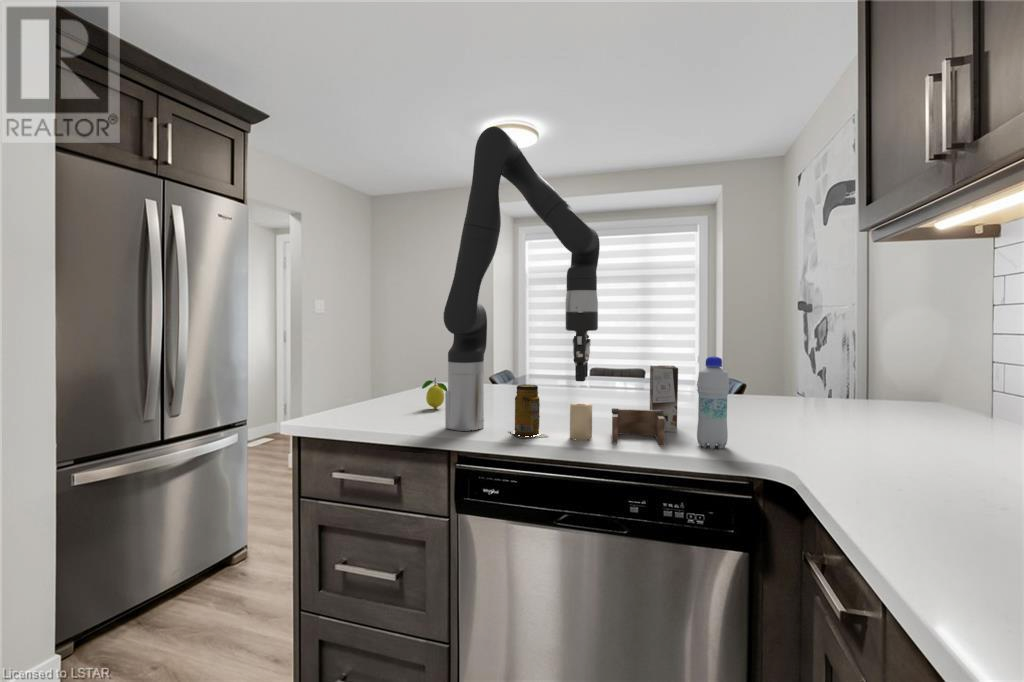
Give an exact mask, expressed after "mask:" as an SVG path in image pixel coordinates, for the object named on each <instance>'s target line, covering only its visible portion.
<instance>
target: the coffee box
mask: <svg viewBox="0 0 1024 682" xmlns="http://www.w3.org/2000/svg"><path fill="white" fill-rule="evenodd" d="M649 368H650V369H649V410H663V411H664V415H663V417H664V419H665V421H664V432H671V433H677V432H678V403H679V402H678V399H679V397H678V394H679V368H678V367H676V366H675V365H650V366H649Z"/></svg>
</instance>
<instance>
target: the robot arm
mask: <svg viewBox="0 0 1024 682" xmlns="http://www.w3.org/2000/svg"><path fill="white" fill-rule="evenodd" d="M472 171H473V172H472V179H471V180H472V181H471V186H470V192H469V196H468V202H467V209H466V212H465V218H464V220H463V221H464V222H463V226H462V231H461V237H460V238H461V239H460V244H459V249H458V254H457V257H456V258H457V259H456V264H455V270H454V274H453V275H454V276H453V280H452V283H451V286H450V290H449V293H448V296H447V300H446V303H445V306H444V310H443V317H442V318H443V323H444V326H445V328H446V329H447V331H448V332H449V333H451V334H453V340H452V341H453V343H452V345H451V347H450V349H449V350H448V352H447V391H445V393H444V399H445V400H444V402H445V408H444V409H445V419H444V420H445V423H444V424H445V425H444V426H445V429H447V430H451V431H462V432H466V431H467V432H469V431H471V430H472V431H478V429H479V430H482V429H484V425H485V423H484V422H485V417H484V416H485V414H484V413H485V407H484V406H485V405H484V404H485V403H484V402H485V398H484V396H485V392H484V391H485V390H484V389H485V388H484V386H485V369H484V368H485V366H484V365H485V364H484V363H485V362H484V360H485V358H484V357H485V353H486V349H487V342H488V341H487V339H488V316H487V311H486V309H485V307H484V306H483V305H482V303H480V302H479V295H480V289H481V285H482V282H483V279H484V278H485V277H484V276H485V275H486V272H487V271H488V269H489V267H490V265H491V263H492V261H493V259H494V257H495V254H496V252H497V247H498V244H499V238H500V233H501V227H502V225H501V224H502V218H501V217H502V216H501V209H500V208H501V206H500V196H499V195H500V194H499V193H500V183H501V177H503V178H504V179H505V180H507V181H508V182H510V183H511V184H512V185H513V186H514V187H515V188H516V189H517V190H518V191H519V192H520V194H521V195H522V196H523V198H524V199H525V201H526V202H527V204H528V205H529V206H530V208H531V209H532V210H533V212H534V213H535V214H536V215H537V216H538V217H539V218H540V220H542V222H544V224H545V225H546V226H547V227H548V228H550V230H552V232H553V234H554V235H555V237H556V238H557V239H558V241H559V242H560V243H561V244H562V245H563V247H565V249H567V251H568V252H570V253H571V258H570V259H571V261H570V267H568V268H567V270H566V271H567V272H566V295H565V330H566V331H569V332H572V331H573V332H575V335H574V336H573V338H572V350H573V351H572V354H573V358H572V359H573V363H574V365H575V366H574V367H575V369H574V370H575V377H574V378H575V381H576V382H585V380H586V378H587V377H588V375H589V374H588V368H589V367H588V366H589V364H588V362H589V359H590V358H589V357H590V354H591V343H592V342H591V338H590V335H589V334H588V332H589V331H597V330H598V329H599V326H598V325H599V318H598V317H599V309H598V308H599V301H598V291H597V289H598V287H597V285H598V284H597V283H598V275H597V269H598V264H599V257H600V246H601V245H600V237H599V234H598V233H597V231H596V230H595V229H593V228H592V227H590V226H589V225H588V224H587V223H586V222H584V221H583V220H582V218H580V216H578V215H577V214H576V212H574V210H573V208H572V206H571V205H570V204H569V203H568V202H567V200H566V199H565V198H564V197H562V196H561V194H560V193H559V192H558V191H557V190H556V189H555V188H554V187H553V186H551V184H550V183H548V182H547V181H546V179H544V178H543V177H542V176H541V174H539V173H538V172H537V171H536V170H535V168H534V167H533V166H532V164H530V162H529V161H528V159H527V157H526V156H525V154H524V153H523V151H522V150H521V148H520V147H519V145H518V143H517V141H516V140H515V138H513V137H512V136H511V135H510V134H509V133H508V132H507V131H506V130H504V129H503V128H501V127H500V126H489V127H487V128H485V129H484V130H483V131H482V132H481V133H480V135H479V136H478V138H477V140H476V144H475V149H474V158H473V169H472Z"/></svg>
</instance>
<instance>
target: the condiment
mask: <svg viewBox="0 0 1024 682" xmlns="http://www.w3.org/2000/svg"><path fill="white" fill-rule="evenodd" d="M538 389H539V387H538V385H535V384H528V383H527V384H518V385H516V392H515V393H516V396H514V397H515V398H514V430H508V432H509V433H510V432H511V433H510V434H511V435H514V436H515V437H517V438H519V439H538V438H546V437H549V436H548V435H546V434H545V433H543V434H541V435H539V436H537V437H536V436H535V438H534V437H533V435H537V434H539V432H540V407H541V406H540V396H539V391H538ZM513 431H515V434H512V433H513ZM518 435H520V436H518ZM525 436H529V437H525ZM531 436H532V437H531Z"/></svg>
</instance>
